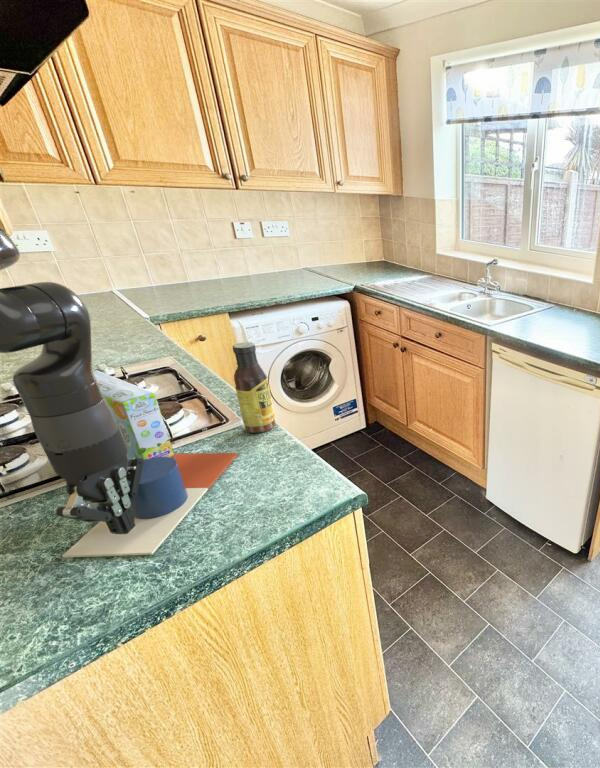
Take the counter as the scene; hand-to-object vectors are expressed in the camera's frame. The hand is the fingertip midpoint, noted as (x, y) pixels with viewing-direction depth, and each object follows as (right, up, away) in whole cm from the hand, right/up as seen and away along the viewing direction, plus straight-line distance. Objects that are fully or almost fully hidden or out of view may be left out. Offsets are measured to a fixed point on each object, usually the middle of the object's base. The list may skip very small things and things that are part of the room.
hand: (124, 530), depth 64 cm
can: (-1, +2, +7) cm, 8 cm away
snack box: (-17, +9, +20) cm, 28 cm away
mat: (-2, +3, +9) cm, 10 cm away
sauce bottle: (+2, +12, +32) cm, 34 cm away
